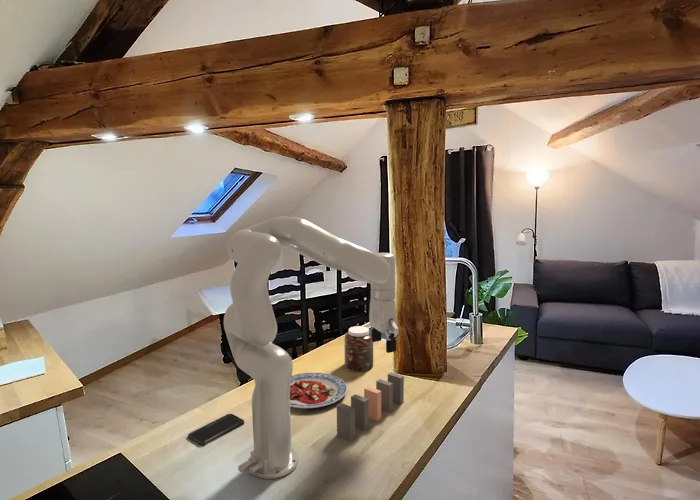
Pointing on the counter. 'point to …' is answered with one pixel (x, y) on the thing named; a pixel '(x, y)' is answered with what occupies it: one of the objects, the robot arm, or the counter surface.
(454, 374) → the counter surface
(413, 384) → the counter surface
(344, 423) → the domino
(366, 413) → the domino
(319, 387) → the ceramic plate
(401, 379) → the domino
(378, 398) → the terracotta domino
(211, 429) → the phone
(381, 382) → the domino
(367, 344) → the jar
